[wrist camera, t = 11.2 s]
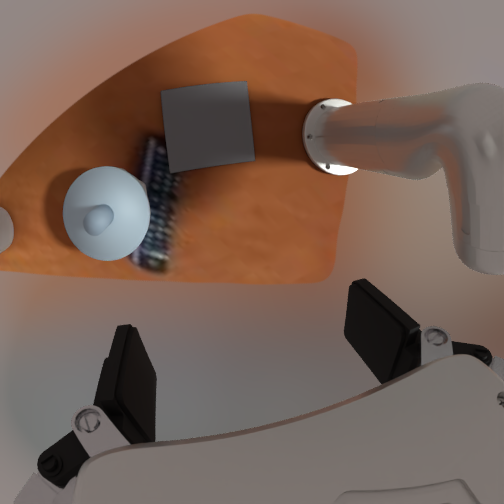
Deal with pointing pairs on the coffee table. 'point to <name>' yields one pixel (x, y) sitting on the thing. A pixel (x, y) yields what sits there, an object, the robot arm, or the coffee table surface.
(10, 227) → the can
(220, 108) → the mat
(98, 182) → the lid
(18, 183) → the coffee table surface
